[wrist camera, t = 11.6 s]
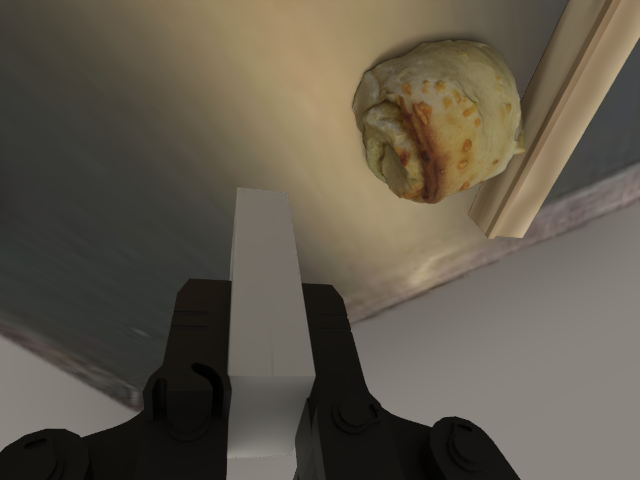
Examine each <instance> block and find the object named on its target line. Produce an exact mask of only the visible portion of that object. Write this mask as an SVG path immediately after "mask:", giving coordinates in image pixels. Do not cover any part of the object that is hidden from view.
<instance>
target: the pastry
mask: <svg viewBox="0 0 640 480" xmlns="http://www.w3.org/2000/svg"><path fill="white" fill-rule="evenodd" d="M352 108H353V112H354V113H355V115H356V120H357V126H358V128H359V130H360V131H361V132H362V133H363V138H364V140H363V143H364V145H365V147H366V149H367V151H366V153H367V155H366V159H367V164H368V167H369V169H370V170H371V171H372V172H373V173H374V174H375V176H376V177H377V178H379V179H380V180H382V181H383V182H384V183H386V184H387V185H388V186H389V189H390V190H391V191H392V192H393V193H395V194H396V195H397V196H398V197H399V198H405V199H410V200H412V201H414V202H418V203H428V204H430V203H431V204H435V203H438V202H440V201H441V200H442V199H444V198H445V197H447V196H449V195H451V194H453V193H456V192H462V191H465V190H467V189H469V188H470V187H472V186H474V185H477V184H479V183H481V182H483V181H485V180H487V179H489V178H492V177H494V176H496V175H498V174H500V173H501V172H503V171H504V170H505V169H506V166H507V164H508V162H509V161H510V159H511V158H512V156H513V155H514V154H522V153H523V152H525V147H524V144H525V139H524V132H523V129H522V122H523V121H522V114H521V106H520V97H519V95H518V92H517V88H516V83H515V79H514V76H513V74H512V72H511V71H510V69H509V67H508V65H507V64H506V62H505V61H504V59H503V58H502V57H501V56H500V54H499V52H497V51H496V50H494V49H493V48H492V47H490V46H489V45H486V44H484V43H482V42H476V41H470V40H456V41H451V40H444V41H442V42H433V43H424V42H423V43H422V44H420V45H419V46H418V47H416V48H415V49H414V50H412V51H410V52H409V53H407V54H406V55H404V56H402V57H398V58H394V59H391V60H387V61H385V62H383V63H381V64H379V65H377V66H376V68H374V69H373V70H370V71H368V72H366V73H364V77H363V79H362V82H361V83H360V84H359V86H358V88H357V92H356V93H355V100H354V104H353V107H352Z"/></svg>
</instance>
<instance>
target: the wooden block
mask: <svg viewBox="0 0 640 480" xmlns="http://www.w3.org/2000/svg"><path fill="white" fill-rule="evenodd" d="M639 37H640V0H569V1H568V3H567V6H566V8H565V10H564V12H563V14H562V16H561V18H560V20H559V23H558V25H557V27H556V29H555V31H554V33H553V35H552V37H551V40H550V42H549V44H548V46H547V48H546V50H545V52H544V54H543V56H542V59H541V61H540V63H539V65H538V67H537V69H536V71H535V73H534V76H533V78H532V80H531V82H530V84H529V86H528V88H527V90H526V93H525V95H524V97H523V99H522V101H521V103H520V106H521V114H522V121H523V122H522V129H523V132H524V139H525V144H524V147H525V152H523V153H522V154H514V155H513V156H512V158H511V159H510V161H509V162H508V164H507V166H506V169H505V170H504V171H503V172H501V173H500V174H498V175H496V176H494V177H492V178H489V179H487V180H485V181H484V182H483V184H482V186H481V188H480V190H479V192H478V194H477V196H476V198H475V201H474V203H473V205H472V207H471V209H470V211H469V213H468V215H469V216H470V217H471V218H472V220H473V221H474V222H475V223H476V224H477V226H478V227H479V228H480V229H481V231H482V232H483V233H484V234H485V235H486V237H487V238H490V239H494V237H495V236H506V237H518V238H522V237H523V236H524V234H525V232H526V231H527V229H528V227H529V225H530V224H531V222H532V220H533V219H534V217H535V215H536V213H537V212H538V210H539V208H540V207H541V205H542V203H543V201H544V200H545V198H546V196H547V195H548V193H549V191H550V189H551V188H552V186H553V184H554V183H555V181H556V179H557V177H558V176H559V174H560V172H561V171H562V169H563V167H564V165H565V164H566V162H567V160H568V159H569V157H570V155H571V153H572V152H573V150H574V148H575V147H576V145H577V143H578V141H579V140H580V138H581V136H582V135H583V133H584V131H585V129H586V128H587V126H588V124H589V123H590V121H591V119H592V117H593V116H594V114H595V112H596V111H597V109H598V107H599V105H600V104H601V102H602V100H603V99H604V97H605V95H606V93H607V92H608V90H609V88H610V87H611V85H612V83H613V81H614V80H615V78H616V76H617V75H618V73H619V71H620V69H621V68H622V66H623V64H624V63H625V61H626V59H627V57H628V56H629V54H630V52H631V51H632V49H633V47H634V45H635V44H636V42H637V40H638V39H639Z"/></svg>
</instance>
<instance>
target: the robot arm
mask: <svg viewBox="0 0 640 480" xmlns="http://www.w3.org/2000/svg"><path fill="white" fill-rule="evenodd" d="M143 399H144V410H143V411H141V412H140V413H139V414H138V415H137V416H135V417H134V418H132V419H131V420H129V421H127V422H125V423H123V424H120V425H118V426H116V427H113V428H110V429H107V430H103V431H100V432H97V433H94V434H91V435H88V436H85V437H82V438H81V437H80V436H79V435H78V434H75V433H73V432H71V431H68V430H66V429H44V430H40V431H37V432H34V433H31V434H27V435H25V436H23V437H21V438H20V439H18V440H17V441H15V442H13V443H11V444H10V445H8V446H6V447H5V448H4V449H3V450H2V451H1V452H0V480H226V475H227V458H246V457H266V456H267V457H268V456H288V455H289V456H290V455H292V452H293V449H294V446H295V448H296V458H297V469H296V472H295V475H294V478H293V480H520V478H519V477H518V475H517V474H516V473H515V471H514V470H513V469H512V467H511V466H510V464H509V463H508V461H507V460H506V459H505V457H504V456H503V454H502V453H501V452H500V450H499V449H498V447H497V446H496V445H495V444H494V442H493V441H492V439H491V438H490V437H489V436H488V435H487V434H486V433H485V432H484V431H483V430H482V429H481V428H480V427H478V426H477V425H475V424H473V423H472V422H471V421H469V420H466V419H462V418H459V417H456V416H455V417H444V418H442V419H441V420H439V421H437V422H436V423H435V424H434V425H433V427H429V426H426V425H423V424H419V423H416V422H413V421H409V420H406V419H403V418H400V417H398V416H395V415H393V414H391V413H390V412H388V411H387V410H385V409H384V408H382V406H381V404H380V403H379V402H378V401H377V400H376V399H375V398H374V397H373V396H372V395H371V394H370V393H369V391H368V388H367V386H366V383H365V380H364V376H363V372H362V369H361V365H360V361H359V357H358V353H357V350H356V346H355V342H354V338H353V335H352V332H351V327H350V323H349V320H348V319H347V312H346V308H345V305H344V301H343V298H342V297H341V296H340V295H339V293H338V292H337V291H336V290H335V288H334V287H333V286H332V285H326V284H307V283H301V278H300V272H299V265H298V259H297V253H296V246H295V240H294V233H293V227H292V220H291V214H290V207H289V201H288V194H287V193H286V192H276V191H267V190H257V189H247V188H238V187H237V198H236V209H235V220H234V231H233V242H232V253H231V267H230V281H226V280H207V279H189V280H188V281H187V282H186V284H185V285H184V286H183V287H182V288H181V289H180V291H179V292H178V293H177V298H176V303H175V307H174V314H173V317H172V322H171V329H170V332H169V337H168V341H167V346H166V351H165V356H164V361H163V365H162V366H161V367H160V368H159V369H158V370H157V371H156V372H154V373H153V374H152V375H151V376H150V377H149V379H148V382H147V384H146V386H145V388H144V390H143Z"/></svg>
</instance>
